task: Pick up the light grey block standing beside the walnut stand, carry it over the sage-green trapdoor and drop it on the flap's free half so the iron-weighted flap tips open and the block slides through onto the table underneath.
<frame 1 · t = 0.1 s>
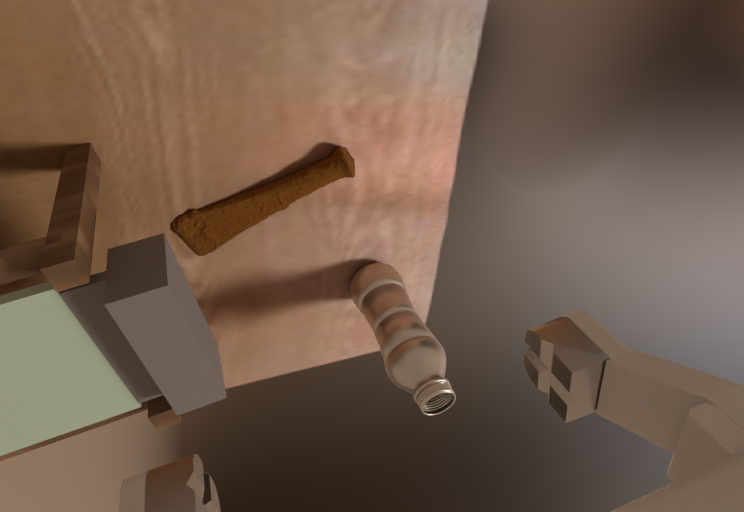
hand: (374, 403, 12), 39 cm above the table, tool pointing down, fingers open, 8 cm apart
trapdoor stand: (33, 258, 48), on the table
primitive tool: (263, 197, 53), on the table
trapdoor: (54, 366, 37), point 15 cm above the table, hinge at 0.0°
plastic bottle: (369, 275, 65), on the table
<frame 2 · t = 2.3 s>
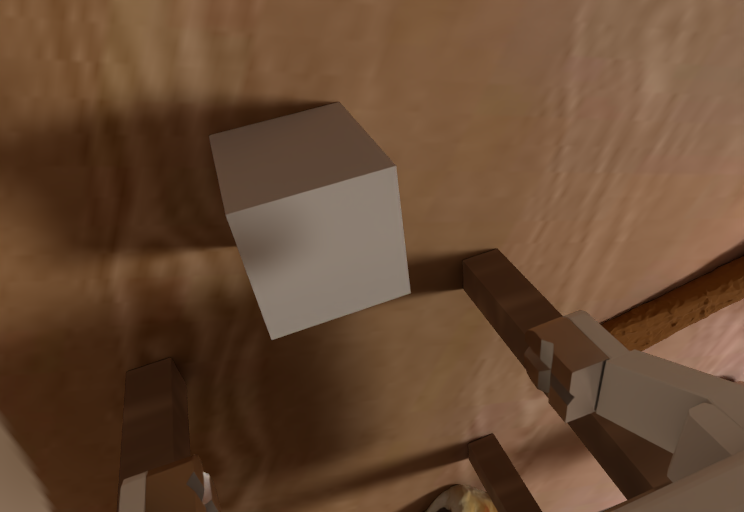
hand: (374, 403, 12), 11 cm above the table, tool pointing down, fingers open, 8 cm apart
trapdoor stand: (354, 419, 30), on the table
primitive tool: (657, 303, 36), on the table
pastry: (456, 505, 42), on the table
light grey block: (290, 176, 20), on the table
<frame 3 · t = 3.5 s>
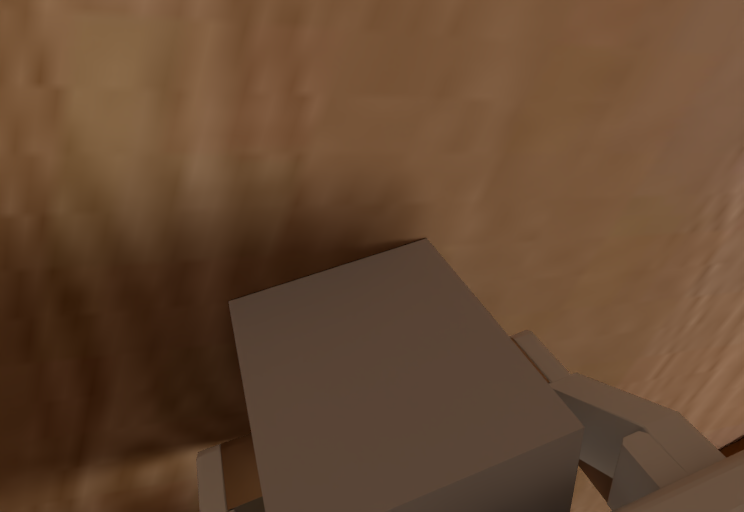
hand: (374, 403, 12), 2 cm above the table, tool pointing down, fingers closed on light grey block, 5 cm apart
light grey block: (348, 341, 14), on the table, touching gripper
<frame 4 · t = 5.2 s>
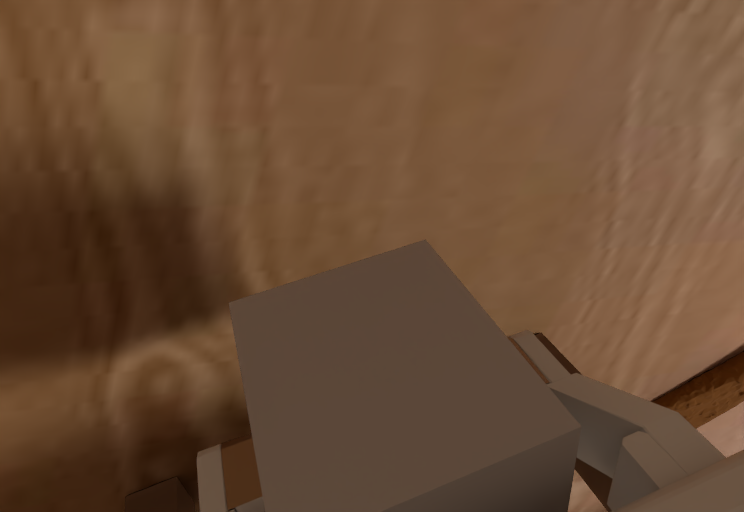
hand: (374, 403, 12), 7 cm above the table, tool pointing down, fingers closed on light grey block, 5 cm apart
primitive tool: (720, 367, 32), on the table
light grey block: (348, 342, 14), point 4 cm above the table, touching gripper
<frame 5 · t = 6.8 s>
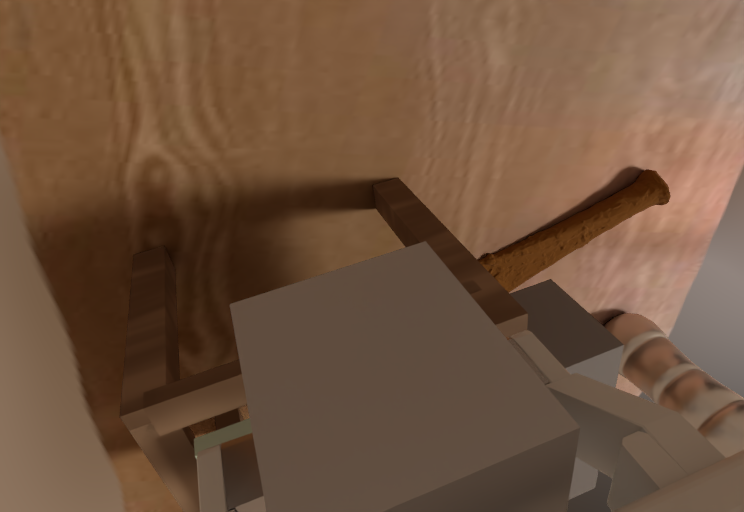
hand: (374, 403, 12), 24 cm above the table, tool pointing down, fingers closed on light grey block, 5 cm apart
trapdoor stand: (302, 314, 41), on the table
primitive tool: (553, 235, 46), on the table
trapdoor: (417, 451, 29), point 15 cm above the table, hinge at 0.0°
light grey block: (348, 343, 14), point 22 cm above the table, touching gripper
plastic bottle: (612, 327, 56), on the table
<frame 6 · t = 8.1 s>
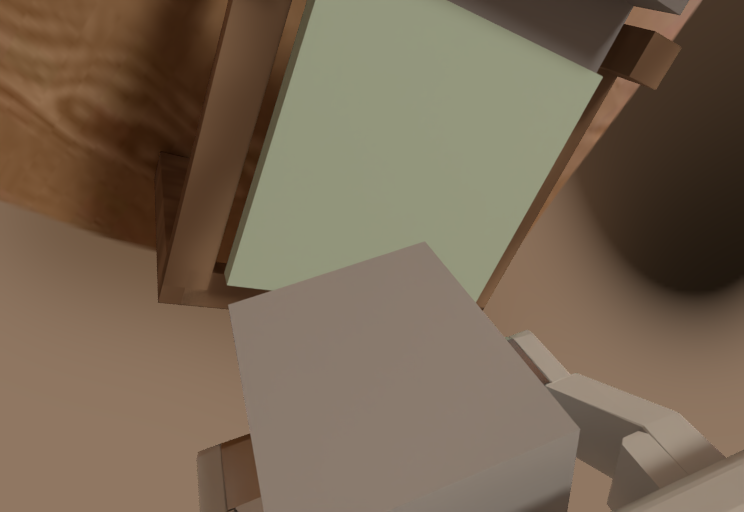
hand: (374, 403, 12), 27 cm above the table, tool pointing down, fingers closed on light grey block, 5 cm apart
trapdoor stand: (326, 86, 35), on the table
trapdoor: (447, 101, 22), point 15 cm above the table, hinge at 0.0°
light grey block: (347, 344, 14), point 25 cm above the table, touching gripper
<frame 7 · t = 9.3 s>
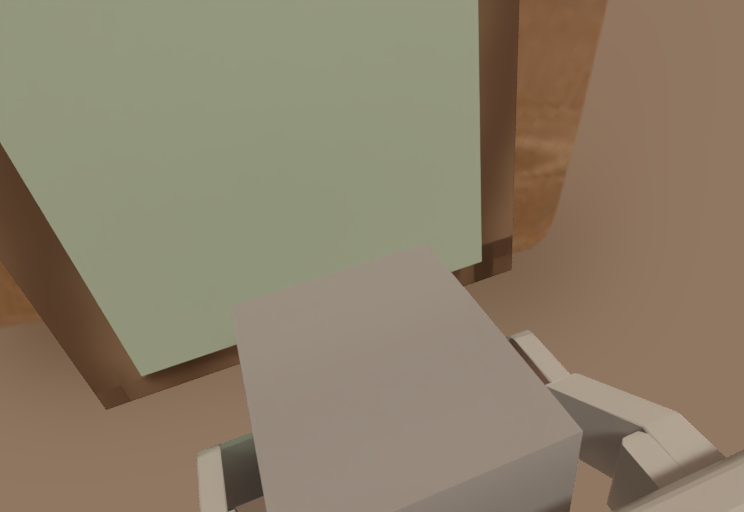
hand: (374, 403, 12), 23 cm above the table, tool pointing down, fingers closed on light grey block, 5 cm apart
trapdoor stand: (228, 51, 28), on the table
trapdoor: (246, 30, 14), point 15 cm above the table, hinge at 0.0°
light grey block: (349, 345, 14), point 21 cm above the table, touching gripper
when the fingers open (20 cm above the table, at t = 10.1 s): light grey block drops 12 cm and tips over, point 6 cm above the table.
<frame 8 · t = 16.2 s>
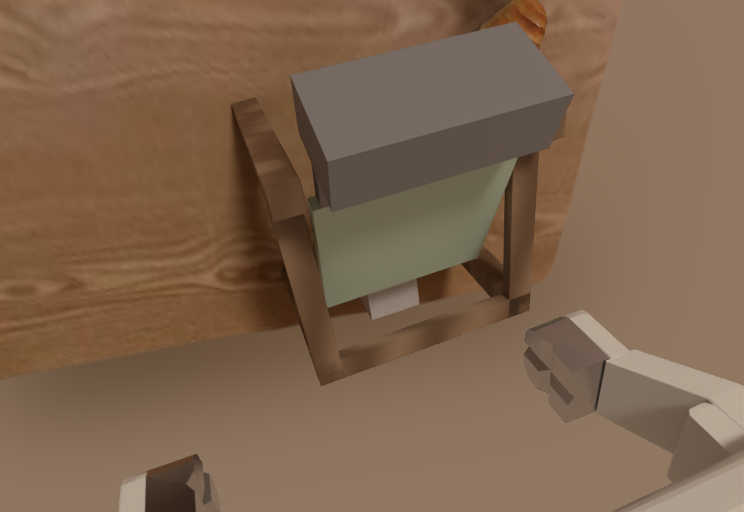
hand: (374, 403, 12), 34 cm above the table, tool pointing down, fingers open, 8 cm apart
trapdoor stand: (360, 177, 48), on the table
trapdoor: (413, 206, 35), point 13 cm above the table, hinge at -25.5°
pastry: (489, 53, 46), on the table
light grey block: (393, 292, 49), point 6 cm above the table, tilted 180°
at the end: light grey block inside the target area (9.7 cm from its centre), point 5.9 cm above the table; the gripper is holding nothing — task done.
